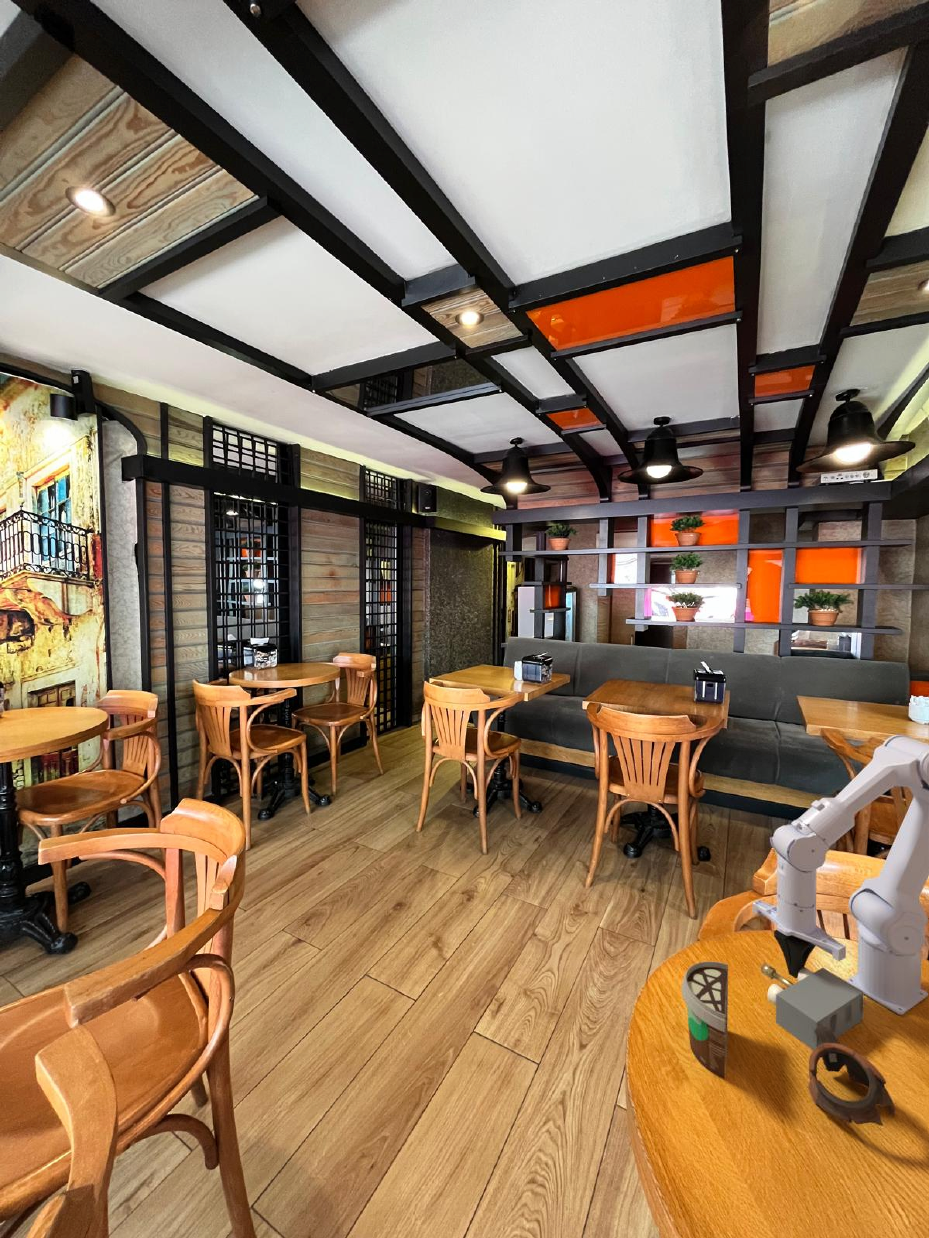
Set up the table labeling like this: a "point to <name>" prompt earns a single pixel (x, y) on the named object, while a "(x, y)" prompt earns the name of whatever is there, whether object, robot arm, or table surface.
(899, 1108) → the table surface
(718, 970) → the food container
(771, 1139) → the table surface
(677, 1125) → the table surface
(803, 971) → the knob
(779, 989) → the knob
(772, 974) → the pot shaft
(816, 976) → the grey slotted box
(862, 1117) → the jagged brown ring
